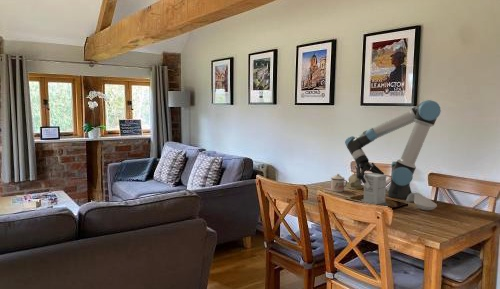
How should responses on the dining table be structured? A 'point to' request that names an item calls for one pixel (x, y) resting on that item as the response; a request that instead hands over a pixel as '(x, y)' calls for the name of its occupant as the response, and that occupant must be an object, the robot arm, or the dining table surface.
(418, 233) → the dining table surface
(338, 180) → the teacup with lid
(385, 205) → the charcoal mat
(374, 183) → the supplement box
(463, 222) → the dining table surface
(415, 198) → the spoon rest
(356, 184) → the ceramic model
